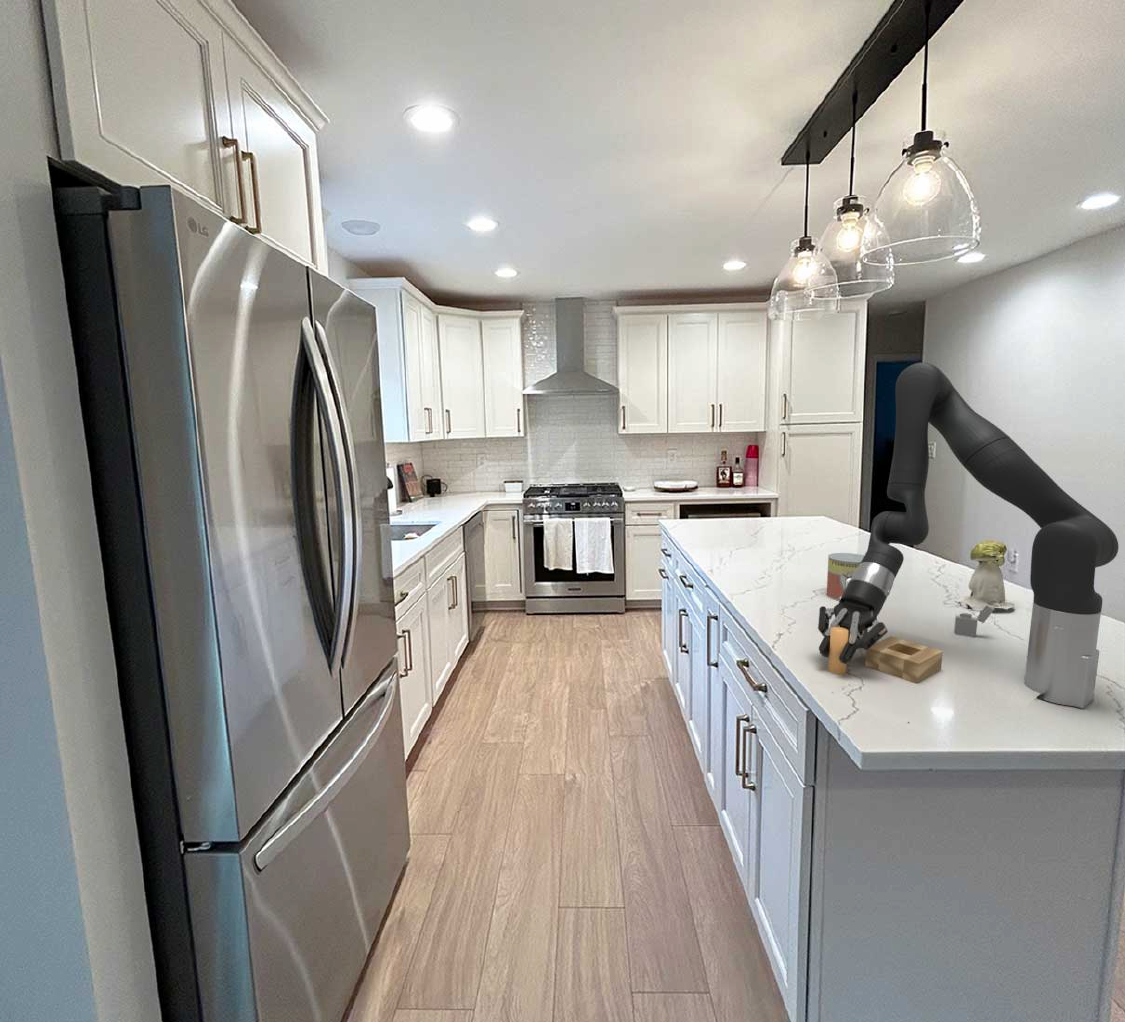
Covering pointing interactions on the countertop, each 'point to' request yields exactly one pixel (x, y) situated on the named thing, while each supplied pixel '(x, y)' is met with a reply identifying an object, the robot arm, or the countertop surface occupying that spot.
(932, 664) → the socket block
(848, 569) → the canned food
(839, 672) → the dowel
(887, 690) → the countertop surface
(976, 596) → the mushroom
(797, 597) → the countertop surface
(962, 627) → the lighter
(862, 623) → the robot arm
